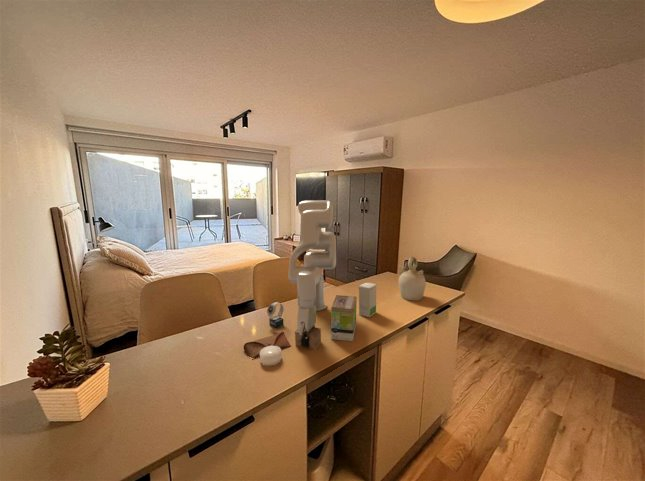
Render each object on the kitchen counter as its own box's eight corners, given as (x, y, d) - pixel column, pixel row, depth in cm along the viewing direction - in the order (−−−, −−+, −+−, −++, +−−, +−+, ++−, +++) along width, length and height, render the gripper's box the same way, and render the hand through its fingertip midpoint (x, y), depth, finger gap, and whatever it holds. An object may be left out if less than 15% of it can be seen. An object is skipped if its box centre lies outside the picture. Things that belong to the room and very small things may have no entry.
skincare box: (369, 318, 131) (369, 288, 129) (357, 314, 135) (357, 285, 133) (376, 312, 138) (377, 283, 136) (365, 309, 142) (365, 281, 139)
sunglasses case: (250, 360, 98) (246, 342, 100) (245, 361, 104) (242, 344, 106) (293, 345, 108) (288, 329, 110) (287, 347, 113) (283, 331, 115)
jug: (392, 295, 161) (394, 255, 157) (412, 291, 168) (413, 253, 164) (410, 304, 148) (412, 261, 144) (430, 299, 154) (433, 257, 150)
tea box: (354, 341, 110) (354, 308, 108) (330, 339, 112) (330, 307, 110) (356, 324, 125) (356, 295, 122) (335, 323, 127) (335, 294, 124)
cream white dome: (255, 364, 96) (255, 355, 96) (267, 352, 104) (266, 344, 103) (275, 368, 94) (274, 359, 93) (285, 355, 101) (284, 347, 101)
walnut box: (295, 345, 108) (294, 331, 107) (301, 338, 113) (301, 324, 112) (315, 349, 105) (315, 335, 104) (321, 341, 110) (321, 328, 109)
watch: (266, 325, 125) (264, 304, 123) (279, 320, 131) (278, 299, 129) (272, 329, 121) (271, 307, 120) (286, 323, 127) (285, 302, 125)
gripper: (306, 293, 115) (307, 331, 118) (289, 308, 99) (291, 352, 102) (322, 294, 113) (323, 333, 116) (307, 311, 97) (309, 355, 100)
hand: (308, 341), depth 109 cm, fingers closed on walnut box, 6 cm apart
